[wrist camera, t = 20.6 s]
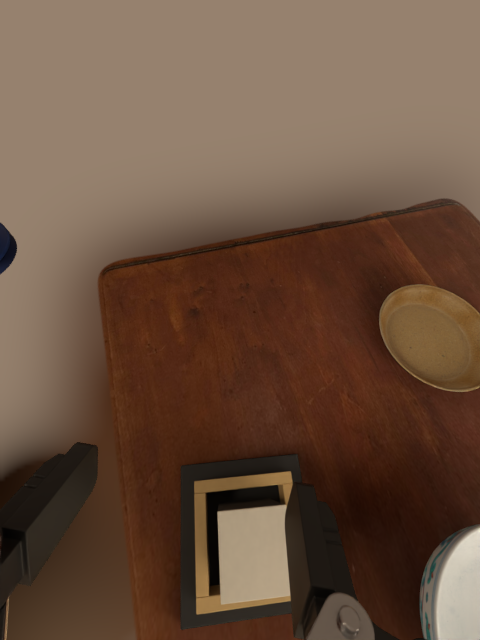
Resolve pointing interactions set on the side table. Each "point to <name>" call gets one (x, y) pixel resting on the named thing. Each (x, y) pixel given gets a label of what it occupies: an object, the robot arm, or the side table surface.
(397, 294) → the plant saucer
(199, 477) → the wooden socket on base
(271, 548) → the block
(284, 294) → the side table surface
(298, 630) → the robot arm
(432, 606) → the chinaware
